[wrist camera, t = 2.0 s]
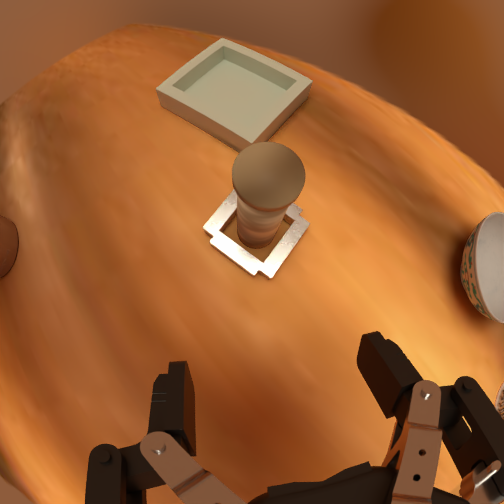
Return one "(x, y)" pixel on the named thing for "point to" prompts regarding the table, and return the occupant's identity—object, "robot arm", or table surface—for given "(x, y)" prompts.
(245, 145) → the tray
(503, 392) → the decorative candle
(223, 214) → the stop collar
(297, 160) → the stop peg
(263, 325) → the table surface
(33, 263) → the table surface
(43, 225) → the table surface
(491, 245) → the chinaware
